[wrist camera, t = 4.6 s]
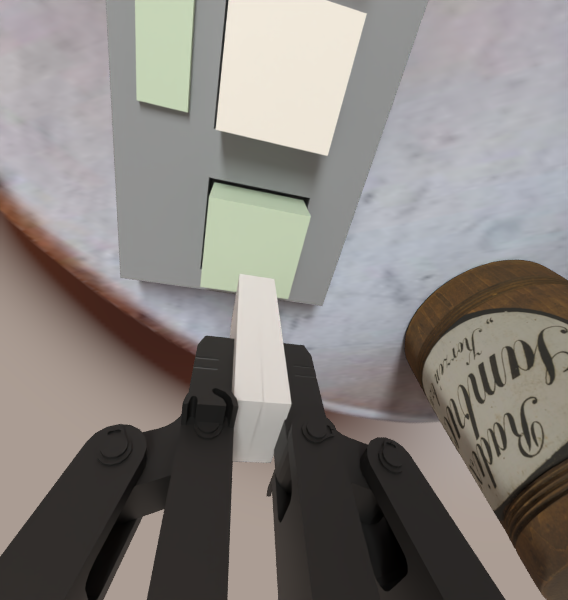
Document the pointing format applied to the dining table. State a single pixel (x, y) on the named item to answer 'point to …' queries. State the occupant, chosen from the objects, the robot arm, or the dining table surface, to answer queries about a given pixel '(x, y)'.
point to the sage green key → (252, 237)
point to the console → (233, 137)
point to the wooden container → (505, 399)
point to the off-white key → (287, 70)
